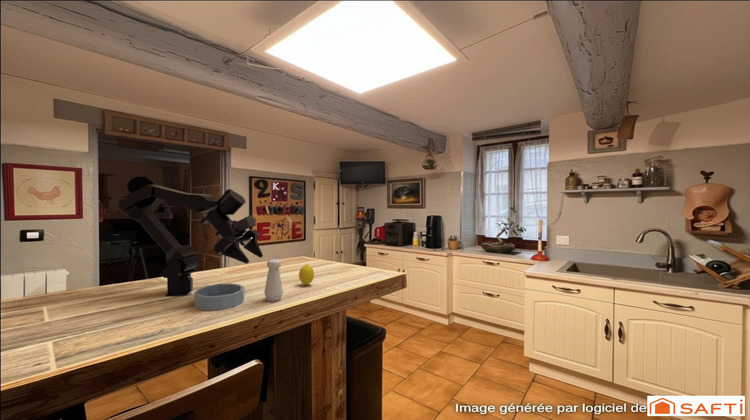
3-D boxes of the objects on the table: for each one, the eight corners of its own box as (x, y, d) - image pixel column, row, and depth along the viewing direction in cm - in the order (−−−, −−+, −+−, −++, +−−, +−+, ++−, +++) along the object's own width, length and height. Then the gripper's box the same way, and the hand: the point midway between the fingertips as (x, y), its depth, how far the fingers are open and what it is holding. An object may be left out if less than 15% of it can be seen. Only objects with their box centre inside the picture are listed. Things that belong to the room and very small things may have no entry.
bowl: (188, 312, 90) (188, 298, 90) (202, 296, 104) (201, 284, 103) (240, 308, 94) (240, 295, 94) (246, 294, 107) (246, 282, 107)
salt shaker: (263, 297, 104) (264, 258, 104) (281, 295, 107) (282, 257, 106) (265, 303, 99) (265, 262, 98) (283, 301, 101) (284, 261, 101)
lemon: (310, 288, 116) (310, 266, 115) (296, 286, 117) (296, 265, 117) (316, 283, 121) (316, 263, 121) (302, 282, 122) (302, 262, 122)
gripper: (222, 209, 93) (258, 247, 93) (253, 206, 112) (283, 238, 111) (198, 234, 95) (233, 273, 94) (232, 228, 113) (262, 259, 112)
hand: (255, 259), depth 103 cm, fingers open, 9 cm apart
